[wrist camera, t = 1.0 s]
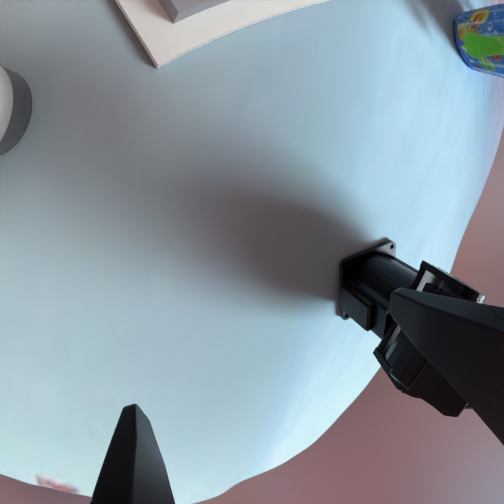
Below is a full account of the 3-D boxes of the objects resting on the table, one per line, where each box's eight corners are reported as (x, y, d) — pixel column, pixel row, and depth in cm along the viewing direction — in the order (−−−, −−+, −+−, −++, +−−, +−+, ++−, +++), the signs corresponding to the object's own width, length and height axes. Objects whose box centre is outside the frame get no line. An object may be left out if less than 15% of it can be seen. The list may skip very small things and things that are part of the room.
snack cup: (445, 86, 24) (530, 96, 15) (420, -6, 19) (503, -17, 10) (496, 80, 27) (557, 90, 18) (480, 10, 22) (541, 11, 13)
